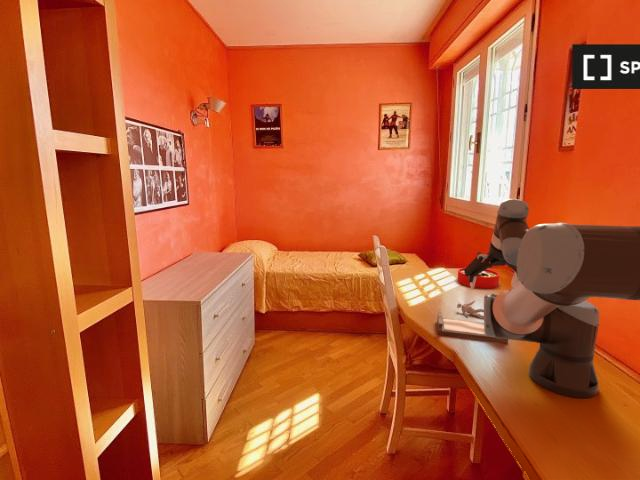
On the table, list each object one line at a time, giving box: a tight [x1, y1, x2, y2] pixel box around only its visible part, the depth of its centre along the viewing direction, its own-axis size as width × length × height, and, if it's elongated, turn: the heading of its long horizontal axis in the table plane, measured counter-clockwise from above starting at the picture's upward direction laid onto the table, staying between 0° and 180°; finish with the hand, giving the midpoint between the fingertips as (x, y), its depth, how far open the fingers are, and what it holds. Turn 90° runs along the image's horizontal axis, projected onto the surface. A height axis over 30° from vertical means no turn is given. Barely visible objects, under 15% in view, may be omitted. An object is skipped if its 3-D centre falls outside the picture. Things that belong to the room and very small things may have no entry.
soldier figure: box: [456, 300, 484, 319], centre depth 137 cm, size 8×5×12 cm
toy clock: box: [456, 267, 500, 289], centre depth 181 cm, size 20×6×20 cm
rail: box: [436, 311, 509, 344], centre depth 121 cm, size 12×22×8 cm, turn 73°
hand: (492, 286), depth 120 cm, fingers open, 13 cm apart
